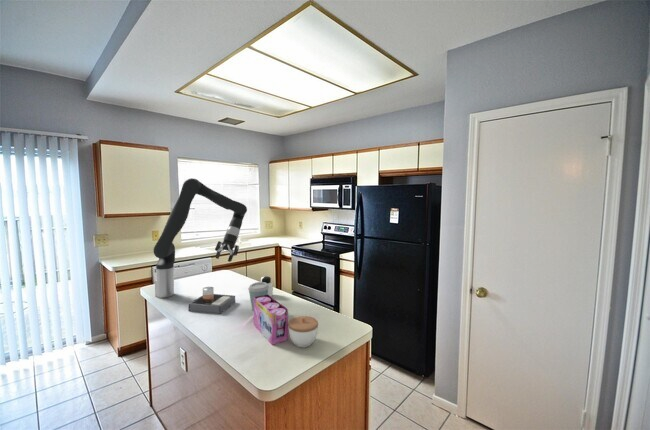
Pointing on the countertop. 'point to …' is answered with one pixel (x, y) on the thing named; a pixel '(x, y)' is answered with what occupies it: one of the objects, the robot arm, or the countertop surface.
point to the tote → (200, 307)
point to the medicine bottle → (268, 281)
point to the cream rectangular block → (221, 300)
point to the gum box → (271, 319)
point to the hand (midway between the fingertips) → (223, 260)
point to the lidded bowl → (303, 330)
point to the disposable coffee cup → (257, 291)
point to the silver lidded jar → (208, 295)
